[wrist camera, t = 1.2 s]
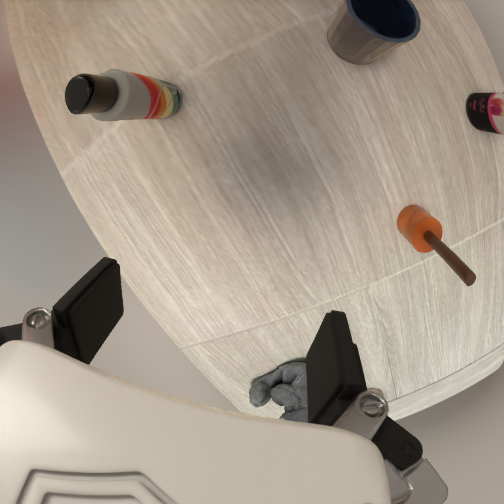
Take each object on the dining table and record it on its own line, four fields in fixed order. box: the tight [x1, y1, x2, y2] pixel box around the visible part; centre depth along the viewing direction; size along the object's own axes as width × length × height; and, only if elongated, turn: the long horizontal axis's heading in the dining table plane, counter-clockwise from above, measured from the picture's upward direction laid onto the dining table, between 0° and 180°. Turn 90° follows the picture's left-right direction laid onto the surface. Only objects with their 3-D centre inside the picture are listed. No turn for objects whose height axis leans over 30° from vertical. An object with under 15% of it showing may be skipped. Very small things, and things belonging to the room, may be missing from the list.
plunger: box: [397, 205, 476, 286], centre depth 30 cm, size 5×5×18 cm
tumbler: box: [327, 0, 420, 65], centre depth 21 cm, size 8×8×13 cm
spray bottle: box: [65, 69, 181, 121], centre depth 25 cm, size 6×6×20 cm
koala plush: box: [249, 362, 312, 424], centre depth 48 cm, size 17×18×20 cm
